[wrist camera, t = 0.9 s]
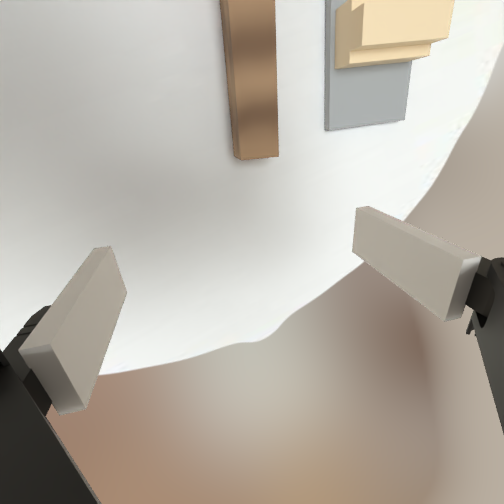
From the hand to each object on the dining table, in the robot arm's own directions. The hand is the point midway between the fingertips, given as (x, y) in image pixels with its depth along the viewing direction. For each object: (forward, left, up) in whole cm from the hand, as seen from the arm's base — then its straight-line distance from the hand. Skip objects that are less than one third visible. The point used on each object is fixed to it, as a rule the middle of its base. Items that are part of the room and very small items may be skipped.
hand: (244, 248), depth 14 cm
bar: (-12, +6, -20) cm, 25 cm away
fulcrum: (-12, +20, -20) cm, 31 cm away
